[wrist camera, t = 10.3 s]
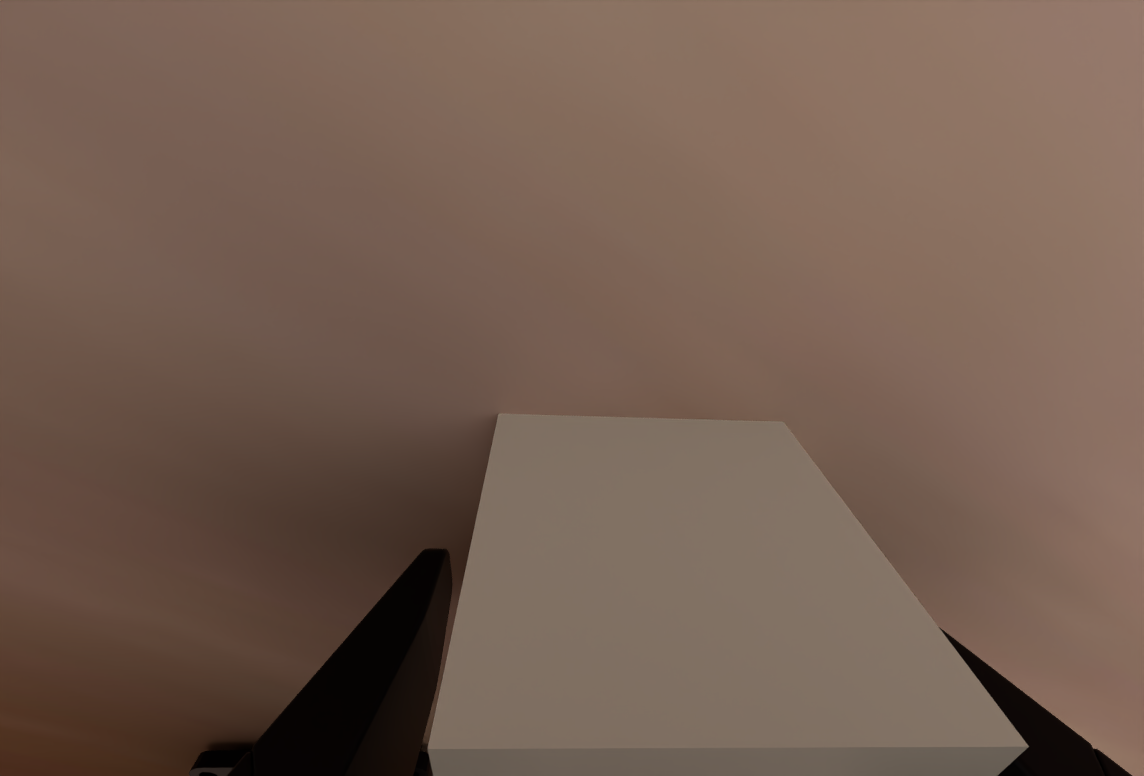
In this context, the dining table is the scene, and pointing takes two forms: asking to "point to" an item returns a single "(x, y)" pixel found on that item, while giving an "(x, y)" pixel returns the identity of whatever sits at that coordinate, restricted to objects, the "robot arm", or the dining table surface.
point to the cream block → (692, 618)
